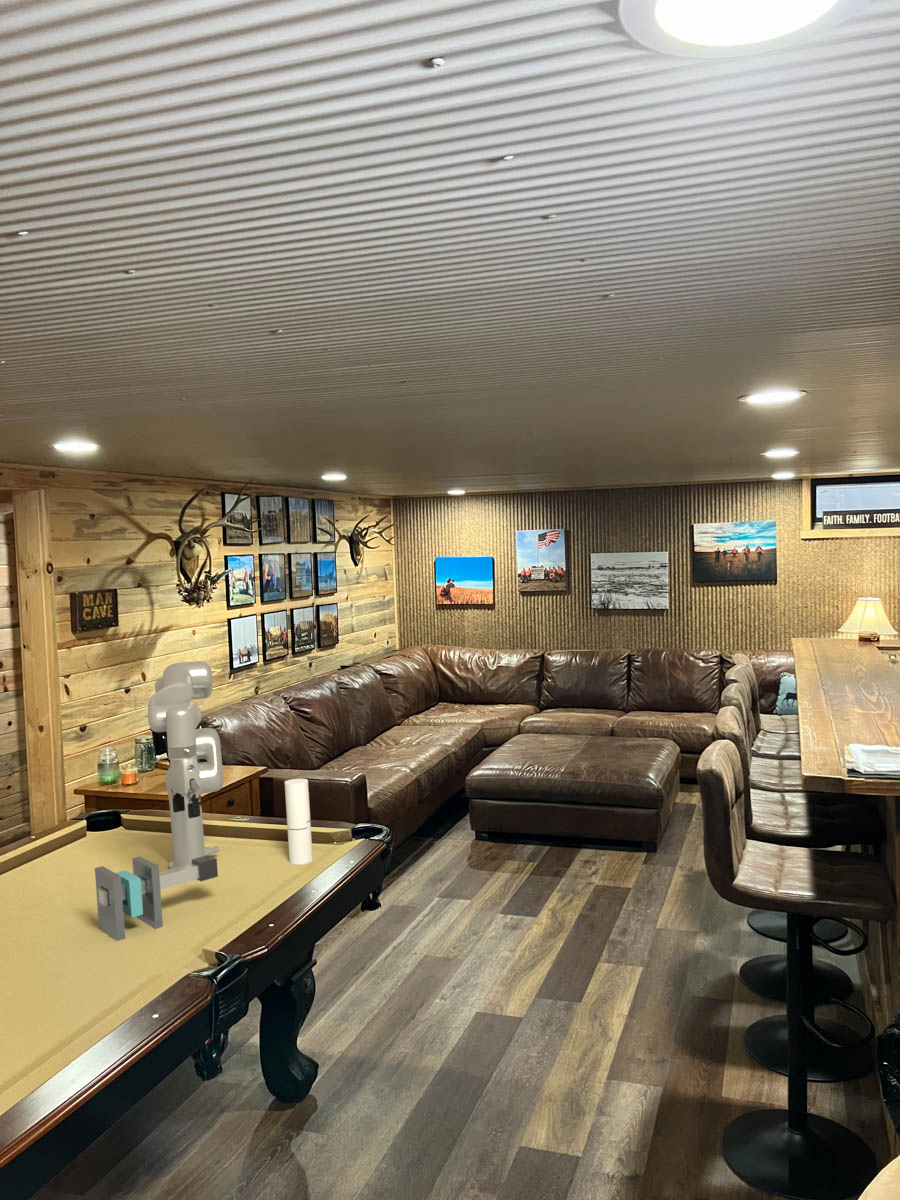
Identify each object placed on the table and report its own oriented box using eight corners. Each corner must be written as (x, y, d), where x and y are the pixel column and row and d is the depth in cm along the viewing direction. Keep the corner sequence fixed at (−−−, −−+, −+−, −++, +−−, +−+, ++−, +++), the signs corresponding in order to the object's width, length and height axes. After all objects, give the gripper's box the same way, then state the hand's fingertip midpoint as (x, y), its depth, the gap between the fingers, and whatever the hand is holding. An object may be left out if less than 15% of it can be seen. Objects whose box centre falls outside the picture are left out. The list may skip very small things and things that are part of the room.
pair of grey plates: (143, 915, 248) (139, 856, 247) (162, 926, 239) (158, 865, 238) (99, 928, 240) (94, 868, 239) (117, 941, 231) (112, 878, 230)
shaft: (209, 872, 257) (208, 854, 257) (217, 876, 253) (216, 858, 253) (98, 904, 236) (97, 885, 236) (105, 909, 233) (104, 889, 232)
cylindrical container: (317, 858, 289) (312, 779, 288) (304, 865, 282) (299, 784, 281) (298, 856, 292) (293, 778, 291) (285, 863, 285) (279, 783, 284)
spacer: (128, 905, 244) (125, 870, 243) (143, 914, 237) (140, 877, 236) (116, 908, 242) (114, 873, 241) (131, 917, 235) (129, 881, 234)
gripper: (209, 753, 248) (213, 816, 249) (182, 746, 261) (186, 806, 262) (182, 758, 243) (187, 822, 244) (156, 751, 257) (160, 812, 257)
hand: (186, 814), depth 253 cm, fingers open, 9 cm apart
